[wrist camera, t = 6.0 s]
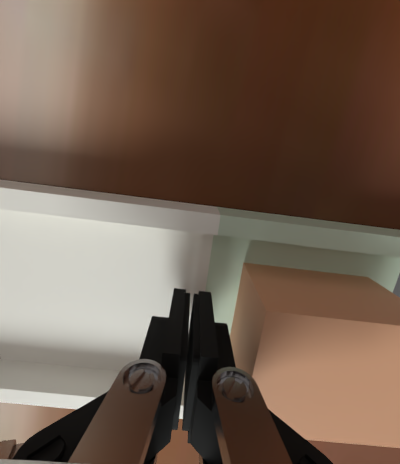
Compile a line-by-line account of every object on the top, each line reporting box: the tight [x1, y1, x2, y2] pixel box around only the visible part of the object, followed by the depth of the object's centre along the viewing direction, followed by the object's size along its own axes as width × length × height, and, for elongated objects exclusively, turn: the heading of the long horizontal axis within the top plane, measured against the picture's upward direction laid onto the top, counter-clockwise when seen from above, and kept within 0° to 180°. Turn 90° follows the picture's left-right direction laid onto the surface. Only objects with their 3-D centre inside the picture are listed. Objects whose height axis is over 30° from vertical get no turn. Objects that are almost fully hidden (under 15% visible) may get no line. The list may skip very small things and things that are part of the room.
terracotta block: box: [230, 263, 400, 448], centre depth 10 cm, size 6×5×4 cm
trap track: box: [0, 180, 400, 419], centre depth 11 cm, size 30×10×2 cm, turn 83°
